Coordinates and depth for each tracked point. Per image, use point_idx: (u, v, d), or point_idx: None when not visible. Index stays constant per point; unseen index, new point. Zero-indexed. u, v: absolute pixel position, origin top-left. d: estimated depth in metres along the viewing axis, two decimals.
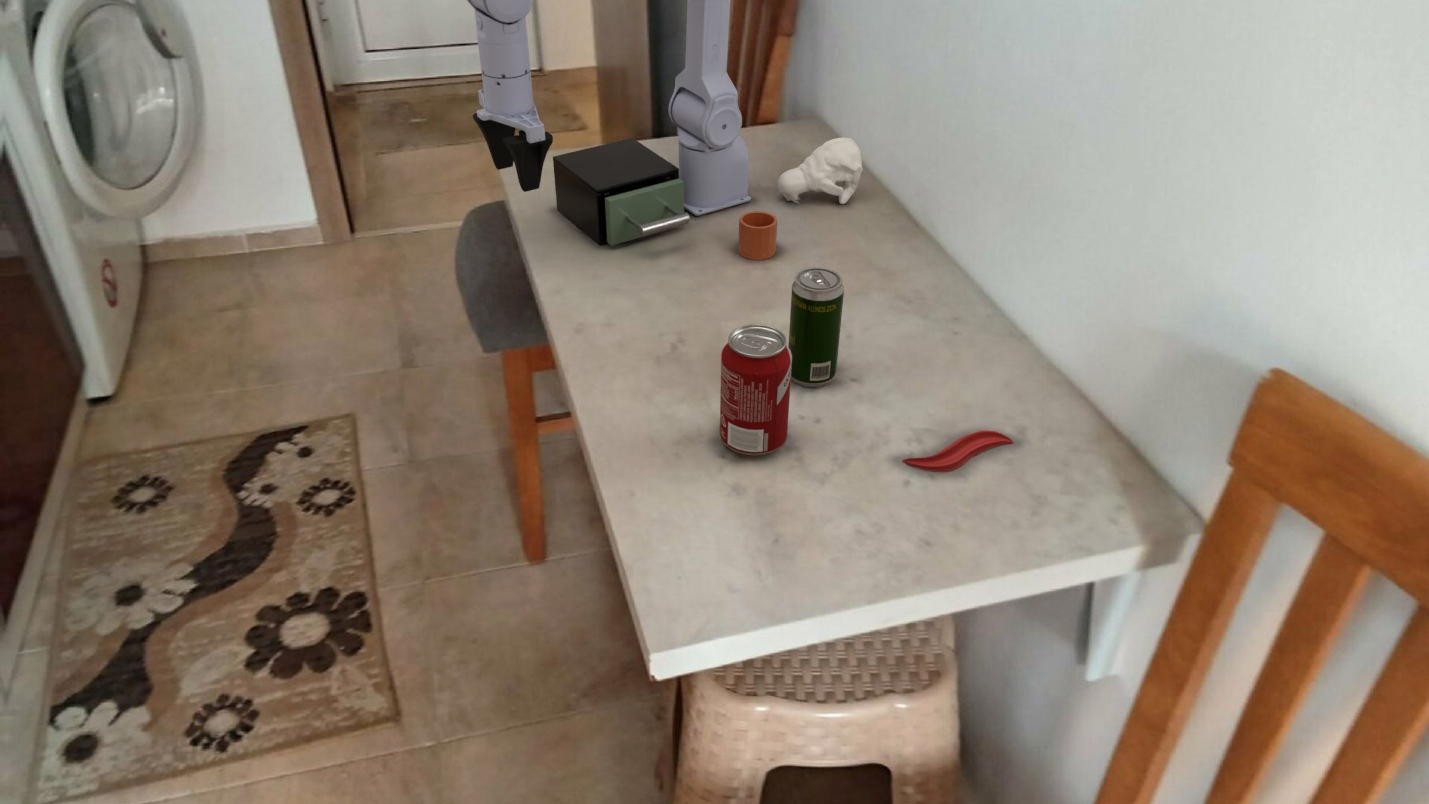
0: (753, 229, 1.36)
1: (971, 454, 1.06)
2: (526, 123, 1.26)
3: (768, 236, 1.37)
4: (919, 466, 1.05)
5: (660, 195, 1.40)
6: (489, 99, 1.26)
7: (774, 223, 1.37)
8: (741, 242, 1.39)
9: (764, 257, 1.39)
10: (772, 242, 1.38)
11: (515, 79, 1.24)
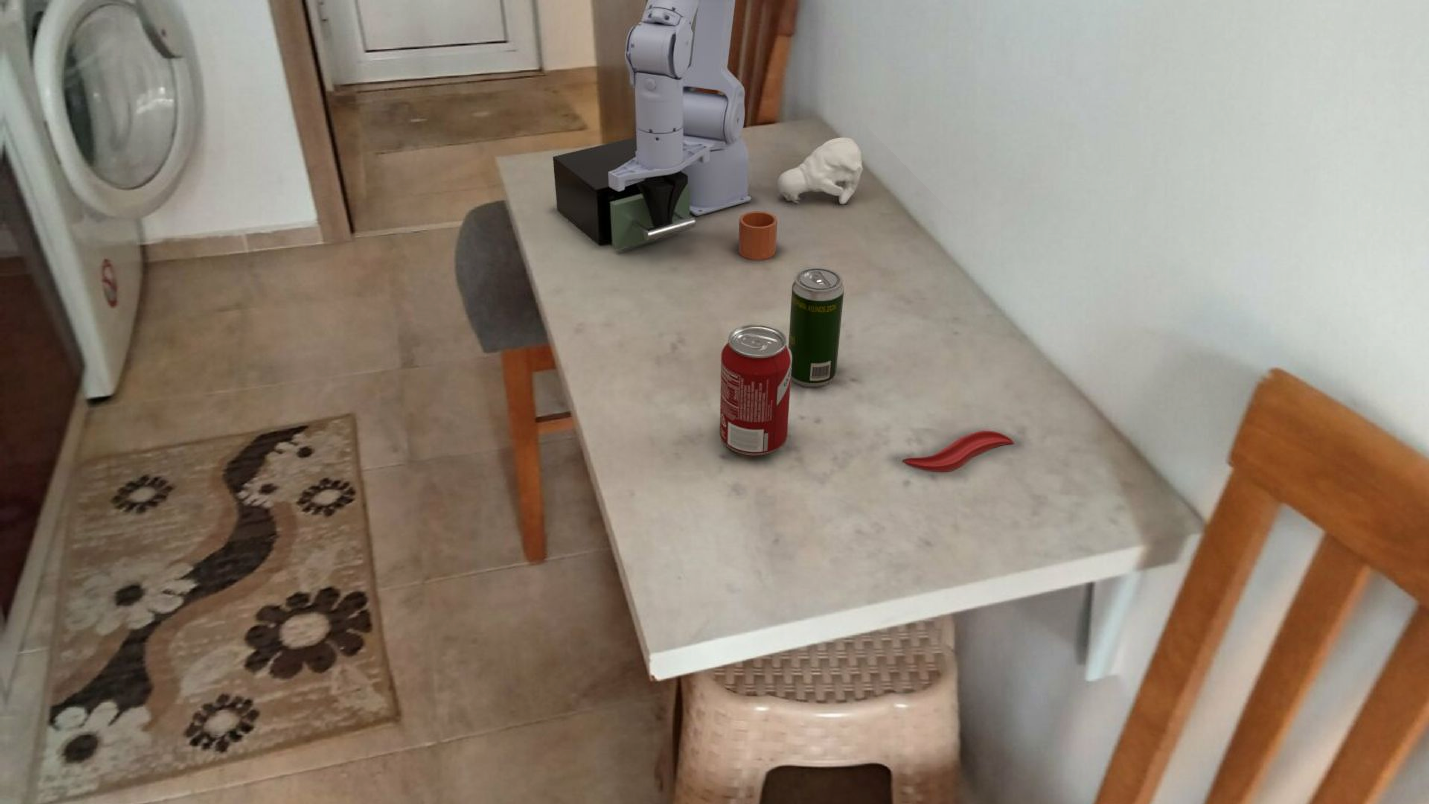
0: (753, 229, 1.36)
1: (971, 454, 1.06)
2: None
3: (768, 236, 1.37)
4: (919, 466, 1.05)
5: None
6: None
7: (774, 223, 1.37)
8: (741, 242, 1.39)
9: (764, 257, 1.39)
10: (772, 242, 1.38)
11: (640, 132, 1.29)
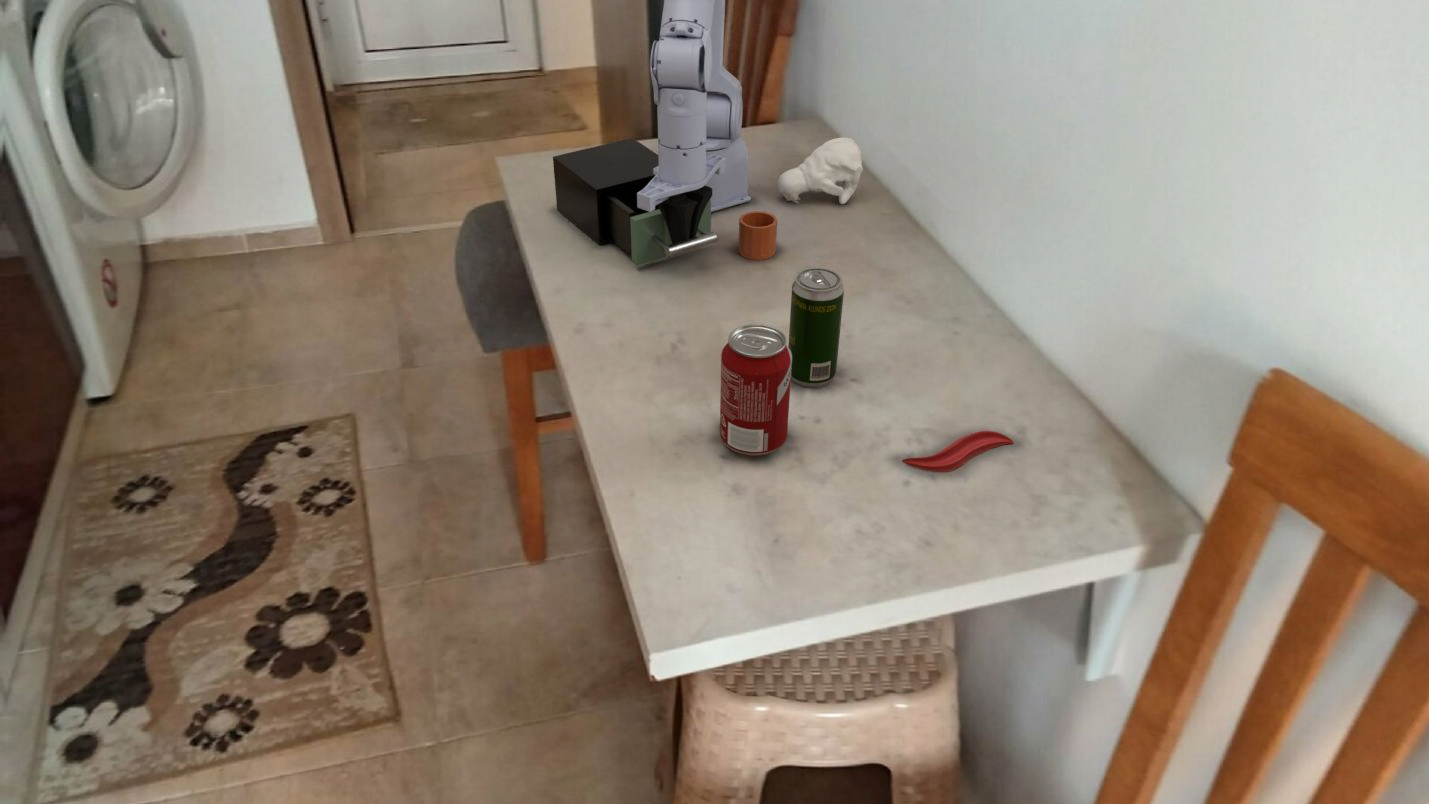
0: (753, 229, 1.36)
1: (971, 454, 1.06)
2: None
3: (768, 236, 1.37)
4: (919, 466, 1.05)
5: None
6: None
7: (774, 223, 1.37)
8: (741, 242, 1.39)
9: (764, 257, 1.39)
10: (772, 242, 1.38)
11: (666, 149, 1.25)
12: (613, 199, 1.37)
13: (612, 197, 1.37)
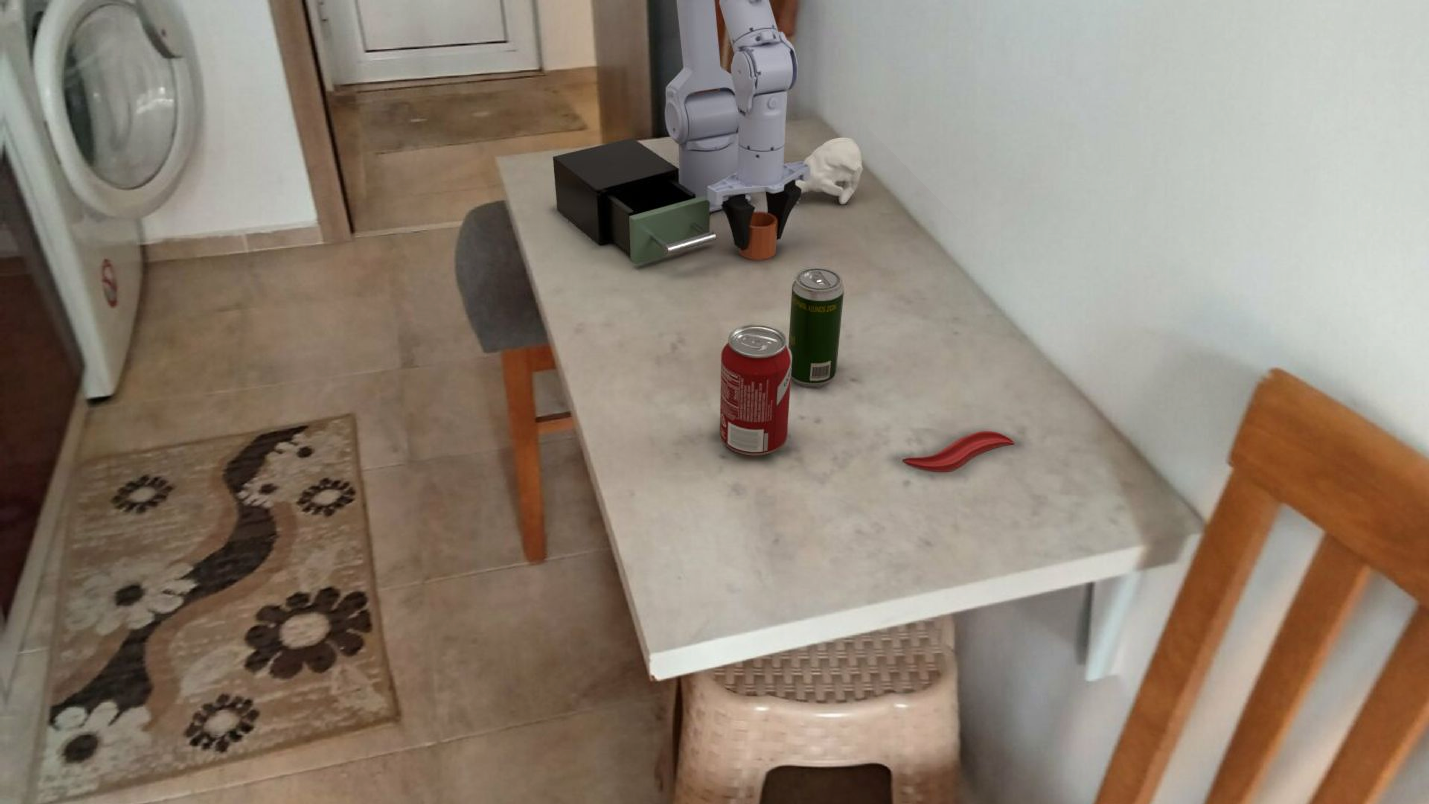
0: (753, 229, 1.36)
1: (971, 454, 1.06)
2: (793, 170, 1.37)
3: (768, 236, 1.37)
4: (919, 466, 1.05)
5: (685, 213, 1.36)
6: (778, 169, 1.32)
7: (774, 223, 1.37)
8: None
9: (764, 257, 1.39)
10: (772, 242, 1.38)
11: None
12: (612, 198, 1.37)
13: (611, 197, 1.37)
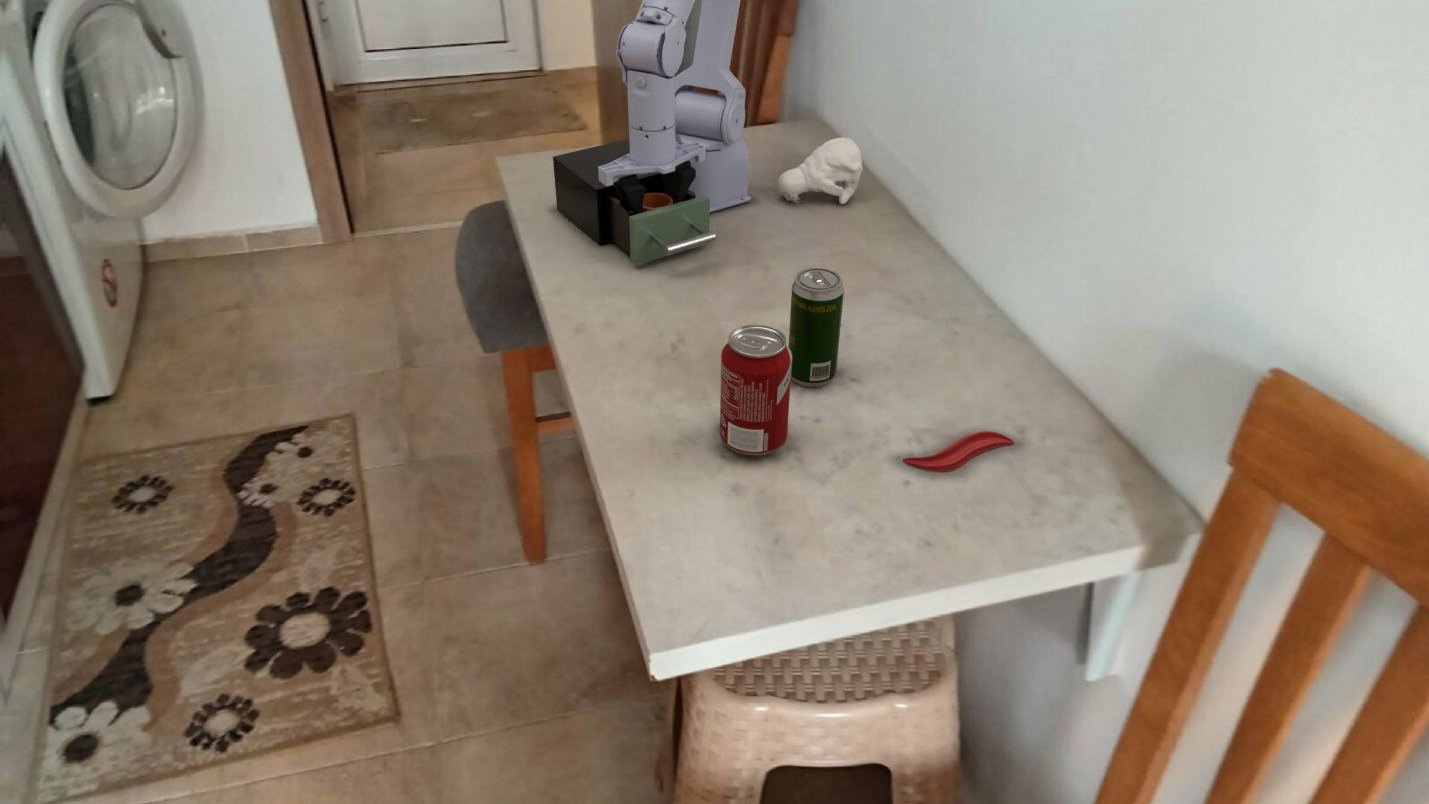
0: (647, 209, 1.36)
1: (971, 454, 1.06)
2: (688, 151, 1.37)
3: None
4: (919, 466, 1.05)
5: (685, 213, 1.36)
6: (669, 149, 1.32)
7: (669, 204, 1.37)
8: None
9: None
10: None
11: None
12: (612, 198, 1.37)
13: (611, 197, 1.37)
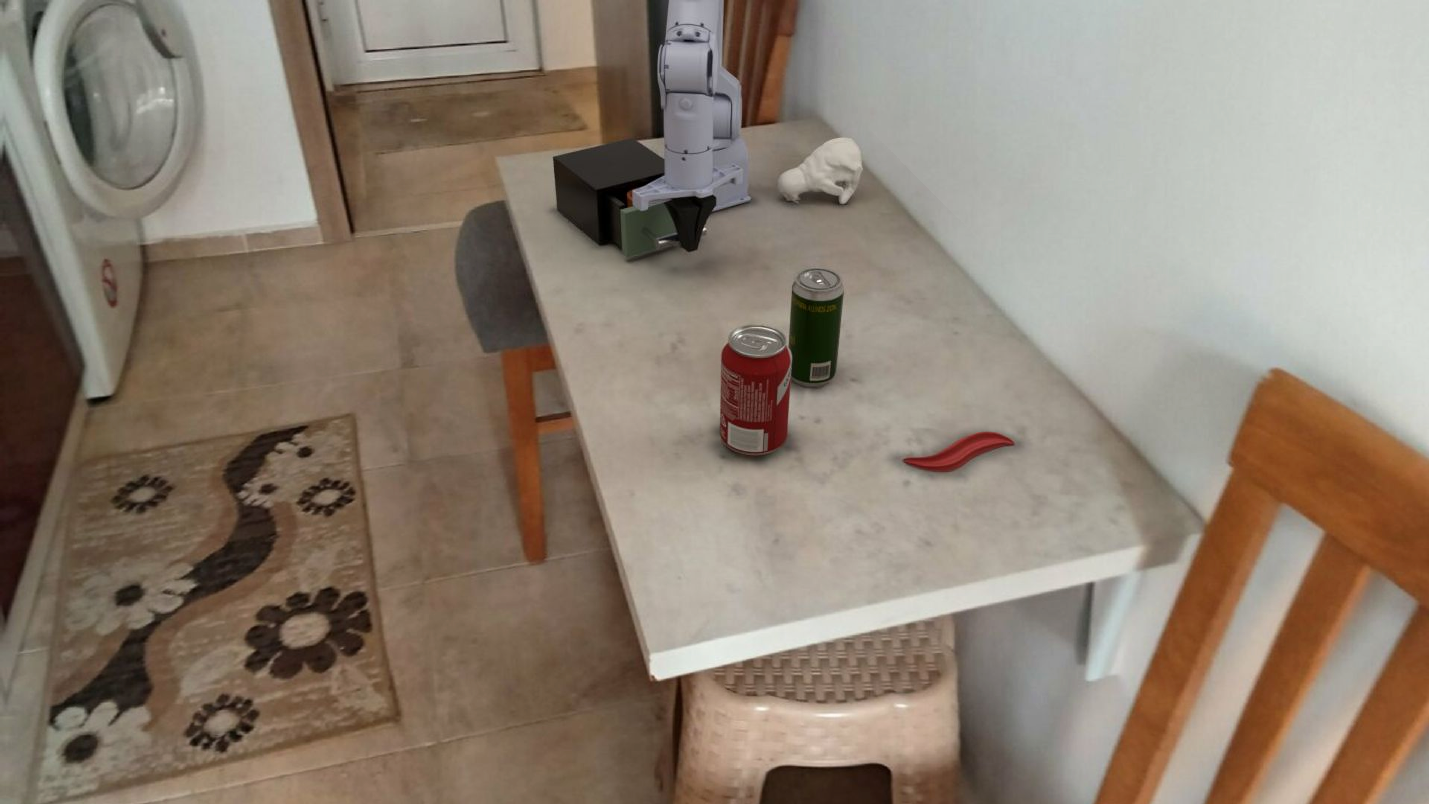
0: None
1: (971, 454, 1.06)
2: (724, 173, 1.31)
3: None
4: (919, 466, 1.05)
5: None
6: (706, 172, 1.26)
7: None
8: None
9: None
10: None
11: None
12: None
13: None
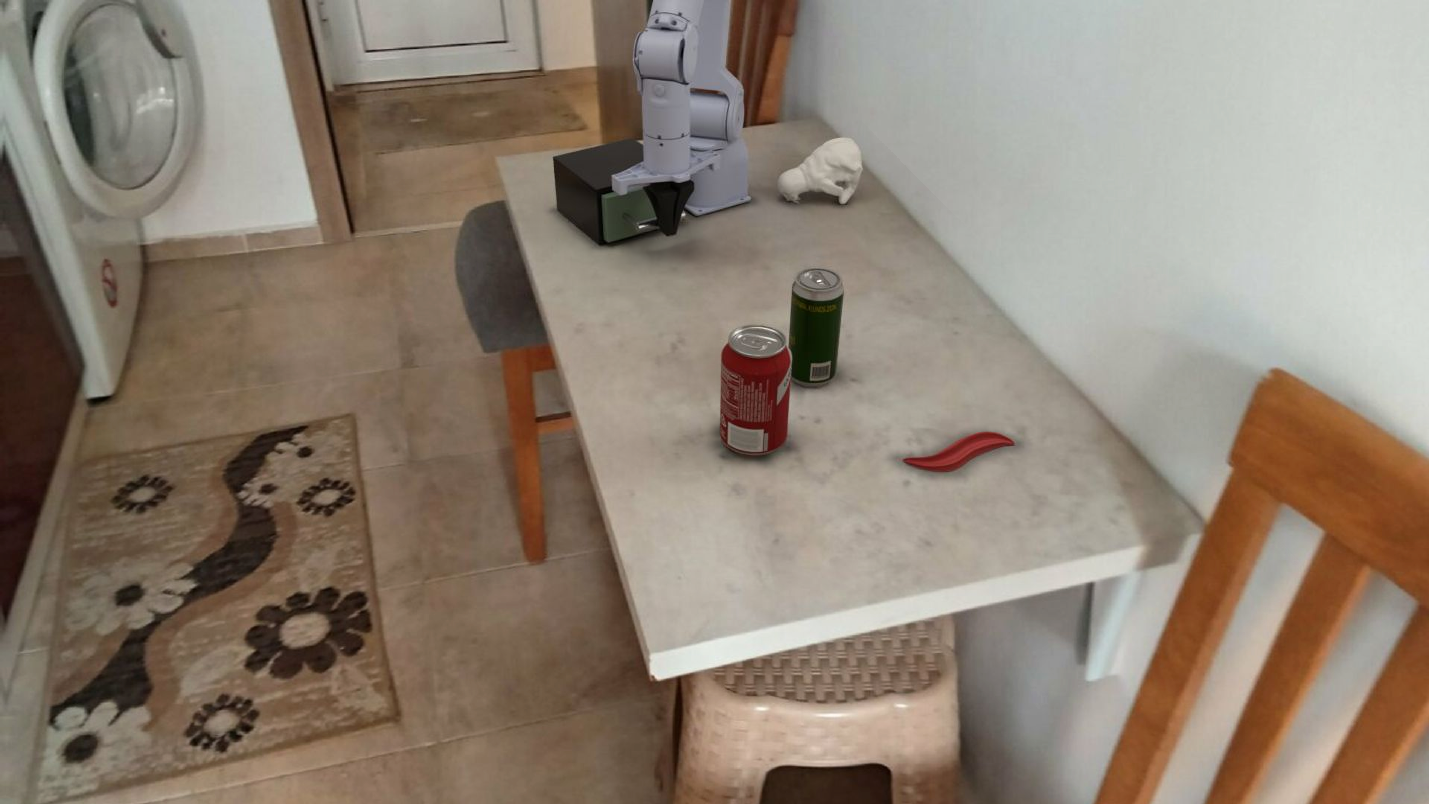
0: None
1: (971, 454, 1.06)
2: (702, 159, 1.34)
3: None
4: (919, 465, 1.05)
5: None
6: (683, 158, 1.29)
7: None
8: None
9: None
10: None
11: None
12: None
13: None
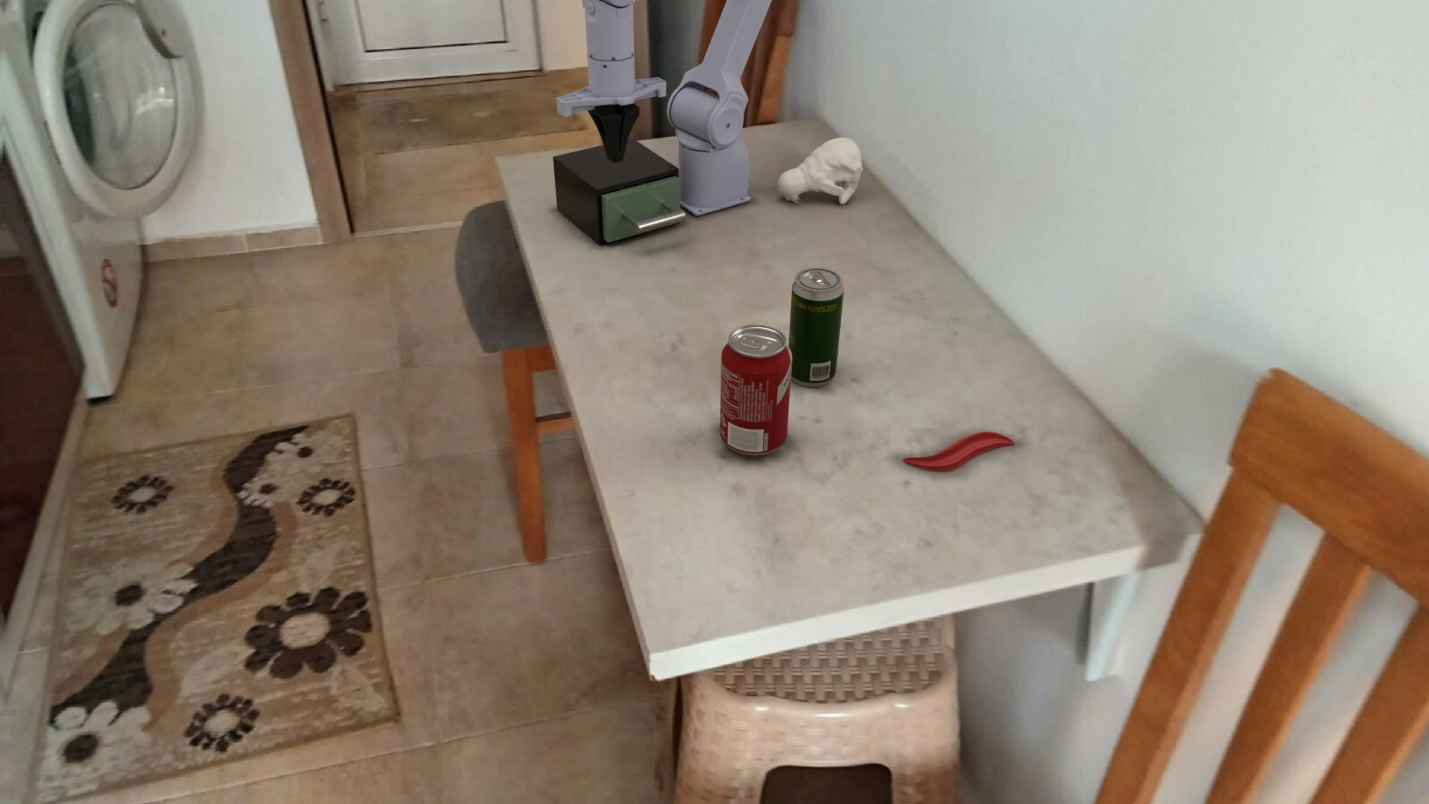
0: (620, 189, 1.41)
1: (971, 454, 1.06)
2: None
3: None
4: (919, 465, 1.05)
5: (656, 192, 1.41)
6: (627, 81, 1.31)
7: (641, 184, 1.42)
8: None
9: None
10: None
11: None
12: None
13: None
